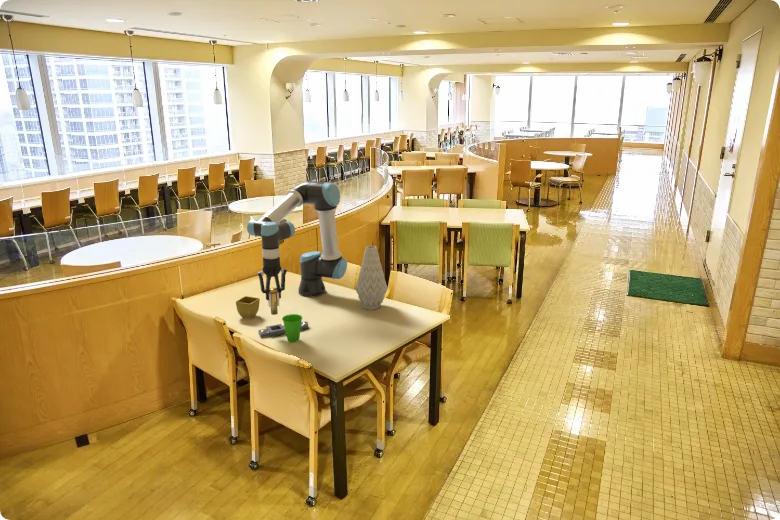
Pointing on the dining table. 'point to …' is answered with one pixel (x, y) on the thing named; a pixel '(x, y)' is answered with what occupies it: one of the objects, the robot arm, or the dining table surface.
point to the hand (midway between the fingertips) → (273, 305)
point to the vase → (371, 280)
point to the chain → (278, 330)
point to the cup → (292, 327)
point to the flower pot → (248, 306)
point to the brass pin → (274, 300)
